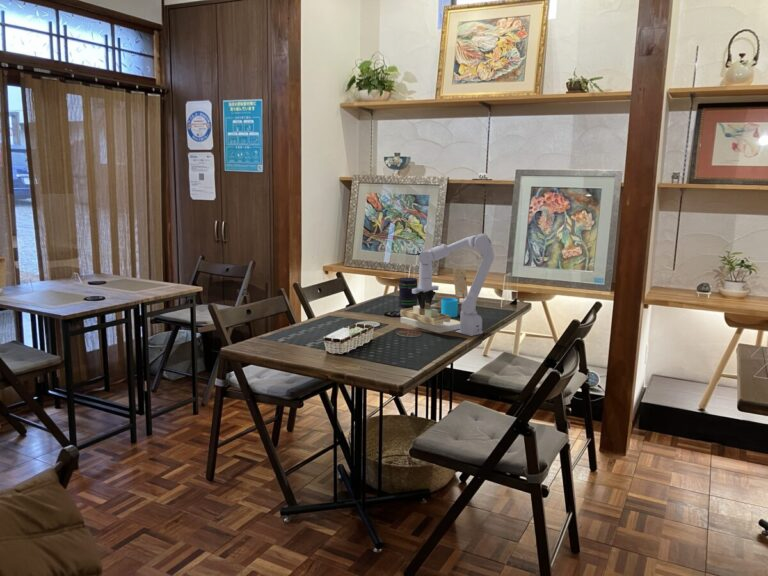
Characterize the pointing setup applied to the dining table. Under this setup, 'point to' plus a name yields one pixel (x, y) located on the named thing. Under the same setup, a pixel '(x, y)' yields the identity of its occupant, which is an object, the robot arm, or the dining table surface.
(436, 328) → the dock
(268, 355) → the dining table surface
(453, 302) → the mug
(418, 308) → the off-white square block
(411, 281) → the storage jar
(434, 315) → the pale green block
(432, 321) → the tan open box
